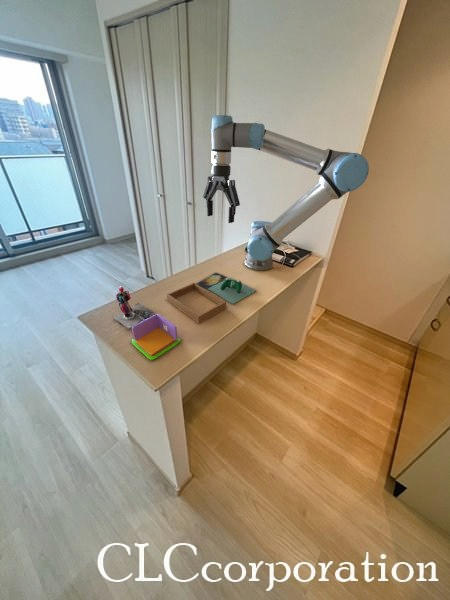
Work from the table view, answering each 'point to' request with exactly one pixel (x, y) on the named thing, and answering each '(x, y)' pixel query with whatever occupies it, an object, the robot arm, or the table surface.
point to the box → (204, 292)
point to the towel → (231, 292)
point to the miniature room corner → (154, 336)
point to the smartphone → (211, 280)
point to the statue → (130, 310)
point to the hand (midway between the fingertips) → (220, 219)
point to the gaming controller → (232, 284)
